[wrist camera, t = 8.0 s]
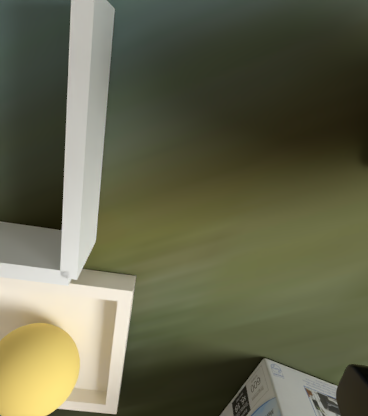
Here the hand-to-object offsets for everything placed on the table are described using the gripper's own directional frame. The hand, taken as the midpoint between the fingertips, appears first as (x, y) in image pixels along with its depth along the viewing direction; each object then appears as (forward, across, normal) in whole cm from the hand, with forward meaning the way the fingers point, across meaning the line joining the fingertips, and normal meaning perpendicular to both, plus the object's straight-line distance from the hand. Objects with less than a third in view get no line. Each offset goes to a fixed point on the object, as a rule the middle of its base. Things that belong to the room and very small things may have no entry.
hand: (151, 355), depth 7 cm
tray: (+12, +6, +11) cm, 17 cm away
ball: (+11, +6, +11) cm, 17 cm away
